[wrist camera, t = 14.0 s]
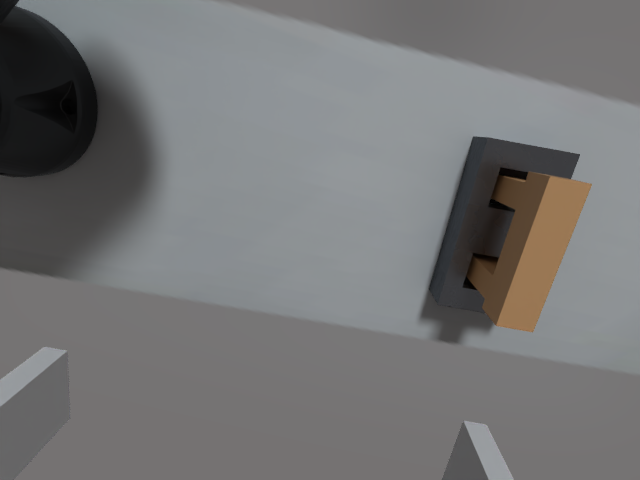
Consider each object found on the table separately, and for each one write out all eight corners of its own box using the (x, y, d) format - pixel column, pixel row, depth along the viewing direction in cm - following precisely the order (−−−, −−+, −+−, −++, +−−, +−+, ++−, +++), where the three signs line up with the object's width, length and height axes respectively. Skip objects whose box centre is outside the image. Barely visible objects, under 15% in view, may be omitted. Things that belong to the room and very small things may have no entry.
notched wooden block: (484, 281, 39) (532, 332, 29) (456, 276, 39) (496, 325, 29) (523, 168, 35) (592, 184, 26) (492, 162, 35) (550, 176, 26)
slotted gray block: (502, 302, 39) (517, 318, 36) (429, 289, 39) (437, 304, 36) (556, 151, 35) (580, 154, 31) (473, 136, 35) (488, 137, 31)
